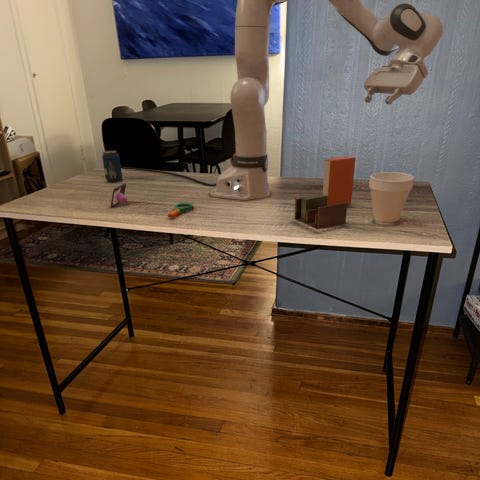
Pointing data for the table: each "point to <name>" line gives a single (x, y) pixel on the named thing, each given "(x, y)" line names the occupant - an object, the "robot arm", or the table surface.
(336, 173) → the book
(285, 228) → the table surface
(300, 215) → the rack
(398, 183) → the flower pot
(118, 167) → the soda can
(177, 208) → the magnifying glass
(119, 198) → the brown pink framed ornament
